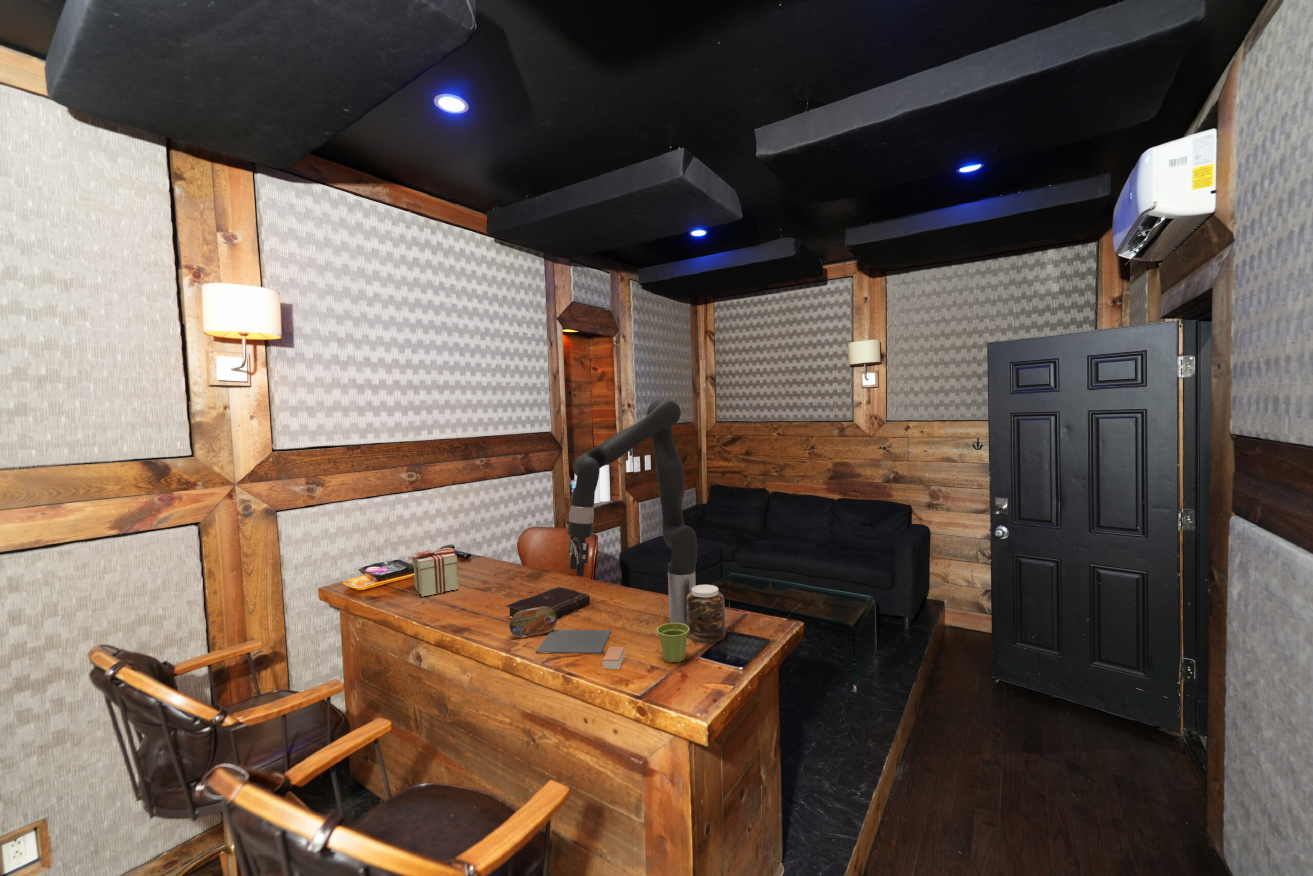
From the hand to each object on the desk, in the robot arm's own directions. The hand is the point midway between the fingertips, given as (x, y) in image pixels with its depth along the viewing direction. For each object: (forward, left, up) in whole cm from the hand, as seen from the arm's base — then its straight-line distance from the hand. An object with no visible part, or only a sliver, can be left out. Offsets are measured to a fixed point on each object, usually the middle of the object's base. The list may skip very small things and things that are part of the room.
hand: (576, 572), depth 165 cm
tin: (+16, -5, -22) cm, 28 cm away
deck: (-13, +13, -23) cm, 29 cm away
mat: (+2, 0, -22) cm, 22 cm away
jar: (-39, -6, -23) cm, 46 cm away
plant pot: (-30, +10, -23) cm, 39 cm away
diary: (+19, -26, -23) cm, 40 cm away
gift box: (+77, -50, -23) cm, 94 cm away
